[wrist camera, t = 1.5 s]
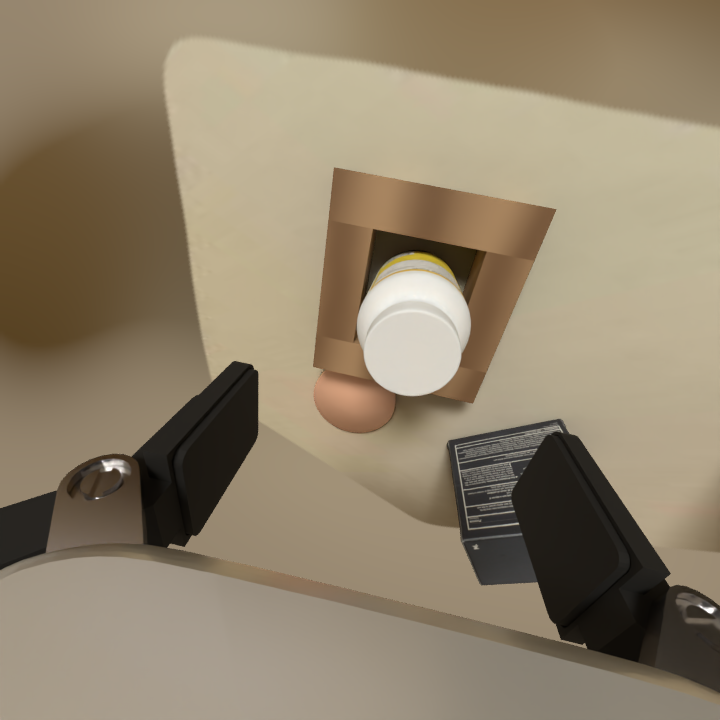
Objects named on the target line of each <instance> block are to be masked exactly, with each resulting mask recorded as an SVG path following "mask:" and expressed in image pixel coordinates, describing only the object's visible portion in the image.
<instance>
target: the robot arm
mask: <svg viewBox="0 0 720 720" xmlns="http://www.w3.org/2000/svg"><path fill="white" fill-rule="evenodd" d="M257 436H258V371H257V370H254V368H253V365H251V364H246V363H242V362H237V361H234V362H232V363H231V364H230V365H229V366H228V367H227V368H226V369H225V370H224V371H223V372H222V373H221V374H220V375H219V376H218V377H217V378H216V379H215V380H214V381H213V382H212V383H211V384H210V385H209V386H208V387H207V388H206V389H204V390H203V392H202V393H201V394H199V395H196V396H195V397H193V398H192V399H191V400H190V401H189V402H188V403H187V404H186V405H185V406H184V407H183V408H182V409H181V410H180V411H178V412H177V413H176V414H175V415H174V416H173V417H172V418H171V419H170V420H169V421H168V422H167V423H166V424H165V425H164V426H163V427H162V428H161V429H160V430H159V431H158V432H157V433H156V434H155V435H154V436H152V438H150V440H148V441H147V442H146V443H145V444H144V445H143V446H142V447H141V448H140V449H139V450H138V451H137V452H136V453H135V454H134V455H133V456H132V457H131V456H128V455H124V454H109V455H102V456H99V457H96V458H93V459H90V460H88V461H86V462H84V463H82V464H80V465H78V466H77V467H75V468H74V469H73V470H71V471H70V472H69V473H68V474H67V475H66V476H65V477H64V478H63V480H62V481H61V482H60V485H59V487H58V489H57V491H54V492H50V493H47V494H44V495H41V496H38V497H35V498H31V499H28V500H25V501H22V502H19V503H16V504H13V505H9V506H7V507H3V508H0V720H720V606H719V605H718V604H717V603H715V602H714V601H713V600H711V599H710V598H708V597H706V596H705V595H703V594H701V593H700V592H698V591H696V590H693V589H691V588H689V587H687V586H680V585H675V586H672V587H670V586H669V585H668V583H667V582H666V580H665V578H666V577H667V576H669V575H670V572H669V571H668V569H667V568H666V566H665V564H664V563H663V562H662V560H661V559H660V557H659V556H658V554H657V553H656V552H655V550H654V548H653V547H652V545H651V544H650V542H649V541H648V539H647V538H646V536H645V535H644V533H643V532H642V530H641V529H640V528H639V526H638V525H637V523H636V522H635V520H634V519H633V517H632V516H631V514H630V513H629V511H628V510H627V508H626V507H625V505H624V504H623V502H622V501H621V499H620V498H619V496H618V495H617V494H616V492H615V491H614V489H613V488H612V486H611V485H610V483H609V482H608V480H607V479H606V477H605V476H604V474H603V473H602V471H601V470H600V468H599V467H598V465H597V464H596V462H595V461H594V460H593V458H592V457H591V455H590V454H589V452H588V451H587V449H586V448H585V446H584V445H583V443H582V442H581V440H580V439H579V438H578V437H577V436H575V435H571V434H567V433H562V432H558V431H556V432H553V433H552V434H551V435H546V436H545V438H544V439H543V441H542V443H541V444H540V446H539V447H538V449H537V451H536V452H535V454H534V456H533V457H532V459H531V460H530V462H529V464H528V465H527V467H526V469H525V470H524V472H523V473H522V475H521V477H520V478H519V480H518V482H517V483H516V485H515V486H514V488H513V490H512V493H511V501H512V504H513V507H514V510H515V514H516V517H517V520H518V523H519V526H520V529H521V532H522V535H523V538H524V541H525V544H526V547H527V551H528V554H529V557H530V560H531V563H532V566H533V569H534V572H535V575H536V578H537V581H538V584H539V588H540V591H541V594H542V597H543V600H544V603H545V606H546V609H547V612H548V615H549V618H550V619H551V621H552V622H553V623H555V624H556V626H557V629H558V632H559V635H560V638H561V640H565V641H569V642H573V643H578V644H582V645H583V644H584V643H585V644H586V646H587V649H585V648H582V647H578V646H574V645H570V644H566V643H563V642H559V641H555V640H550V639H547V638H543V637H538V636H534V635H531V634H527V633H523V632H519V631H515V630H511V629H507V628H503V627H499V626H495V625H491V624H487V623H483V622H479V621H475V620H471V619H467V618H463V617H459V616H455V615H451V614H447V613H443V612H439V611H435V610H431V609H426V608H423V607H419V606H415V605H410V604H407V603H402V602H399V601H394V600H390V599H386V598H382V597H378V596H374V595H370V594H366V593H361V592H358V591H354V590H350V589H346V588H341V587H337V586H333V585H329V584H325V583H321V582H317V581H312V580H308V579H304V578H300V577H296V576H292V575H287V574H283V573H279V572H275V571H271V570H266V569H262V568H258V567H254V566H250V565H246V564H241V563H237V562H232V561H227V560H223V559H219V558H214V557H209V556H205V555H200V554H196V553H191V552H186V551H182V550H176V549H170V548H167V547H168V546H169V544H170V543H171V544H175V545H179V546H183V547H185V545H186V544H187V542H188V541H189V539H190V537H191V536H192V535H194V536H196V535H198V534H199V533H200V531H201V530H202V528H203V527H204V525H205V523H206V521H207V520H208V518H209V517H210V515H211V514H212V512H213V510H214V509H215V507H216V505H217V504H218V502H219V500H220V499H221V497H222V496H223V494H224V492H225V491H226V489H227V487H228V486H229V484H230V482H231V481H232V479H233V478H234V476H235V474H236V473H237V471H238V469H239V468H240V466H241V464H242V463H243V461H244V460H245V458H246V456H247V455H248V453H249V451H250V450H251V448H252V447H253V445H254V443H255V441H256V439H257Z"/></svg>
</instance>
